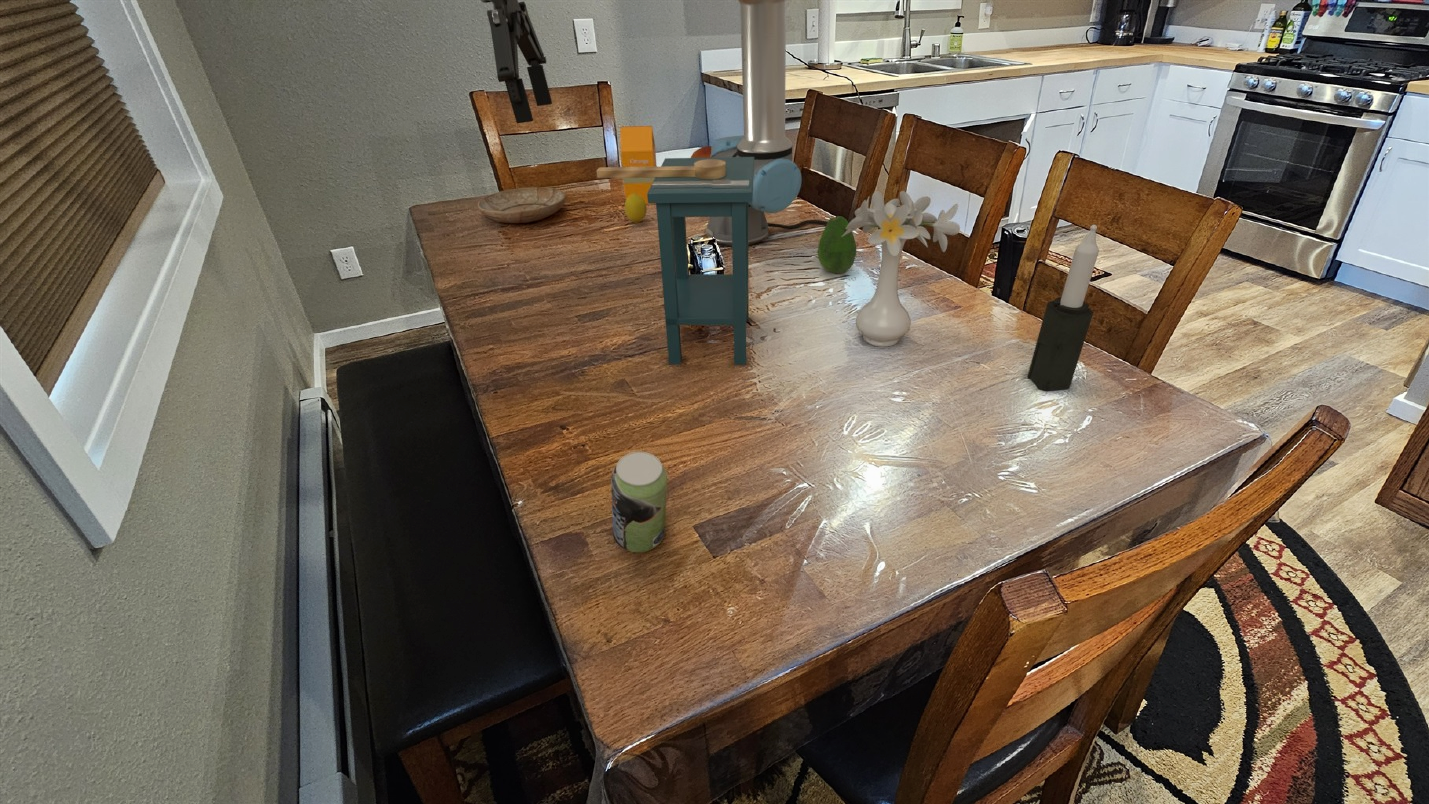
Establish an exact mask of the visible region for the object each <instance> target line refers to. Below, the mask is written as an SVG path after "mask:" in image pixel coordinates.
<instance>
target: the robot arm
mask: <svg viewBox="0 0 1429 804" xmlns="http://www.w3.org/2000/svg"><path fill="white" fill-rule="evenodd" d="M480 1H481V2H482V3H484V4H488V3H492V7H493V9H489V10H486V15H487V18H488V19H487V20H488V22H489V26H490V33H491V40H492V41H491V42H492V47H493V48H492V49H493V54H494V60H495V68H496V77H497V81H498V82H499V83H503V82H504V83H505V87H506V91H507V94H508V98H509V101H510V105H511V108H512V112H513V115H514V118H515V122H516V124H523V123H531V122H533V121H534V118H533V113H532V110H531V106H530V102H529V98H528V95H527V91H526V89H525V84H524V81H523V78H520V69H519V52H518V51H519V50H520V52H521V54H522V56H523V58H524V59H525V61H526V63H527V65H528V66H527V67H526V70H527V73H528V77H529V80H530V84H531V89H532V93H533V95H534V99H535V103H536V106H537V107H540V106H548V105H549V106H550V105H552V104H553V101H552V97H551V96H552V95H551V93H550V89H549V85H548V81H547V78H546V73H545V68H544V65H543V64H547V57H546V56H545V54H544V52H543V49H542V46H541V44H540V41H539V39H538V36H537V34H536V31H535V28H534V25H533V22H532V21H531V18H530V16H529V13H528V9H527V4H526V2H525V1H518V0H480ZM737 1H738V3H739V7H740V10H739V11H740V43H741V76H742V81H741V82H742V110H743V111H742V113H743V114H742V115H743V116H742V117H743V135H734V136H733V135H732V136H725V137H720V138H717V139H715V140H713V141H712V143H711V145H710V146H711V158H716V157H754V179H753V196H752V202H748V246H752V245H753V246H754V245H757V244H760V243H762V242H765V241H766V240H767V239H768V238H769V235H770V229H769V228H778V229H784V230H793V229H797V228H799V227H801V226H804V225H808V224H820V225H825V226H826V225H827V223H828V221H829V220H828V221H826V220H822V219H808V220H802V221H800V222H797V223H795V224H792V225H791V224H789V225H785V224H780V223H770V222H768V220H767V218H766V214H776V213H780V212H782V211H784V210H786V209H787V208H788V207H790V206H791V205H792V203H793V202H794V201H796V199H797V198H798V195H799V193H800V191H801V187H802V180H803V179H802V173H801V170H800V168H799V167H798V165H797V163H795V161H793V141H791V140H790V139H789V138H788V137H787V135H786V72H787V71H786V67H787V66H786V63H787V62H786V58H787V57H786V50H787V45H786V44H787V0H737ZM518 48H519V50H518ZM855 217H856V216H854V217H852V218H850V219H848V220H847V221H848V223H850V222H851V221H852V220H853V219H855ZM705 232H706V233H705V234H706V238H707V237H714V238H715V239H716V240H717V244H716V245H718V246H719V245H720V246H725V247H732V216H731V217H708V222H707V225H706V229H705Z"/></svg>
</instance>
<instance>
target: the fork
mask: <svg viewBox="0 0 1429 804" xmlns="http://www.w3.org/2000/svg"><path fill="white" fill-rule="evenodd" d="M653 188H712V189H724V188H749V180H713V181H666V182H654V183H653Z"/></svg>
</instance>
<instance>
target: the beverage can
mask: <svg viewBox="0 0 1429 804" xmlns="http://www.w3.org/2000/svg"><path fill="white" fill-rule="evenodd" d="M610 486H611V487H610V488H611V489H610V490H611V492H610V493H611V518H612V519H611V520H612V523H611V525H612V537H613V539H614V541H615V543H616V544H617V545H618V546H619V547H620V548H621V549H623V550H625V551H628V552H631V553H645V552H649V551H651V550H653V549H655V548H656V547H658V546H659V545H660V544H661V542H662V541H663V539H664V537H665V531H666V530H665V529H666V514H667V513H666V510H667V493H668V492H667V491H668V473H667V471H666V468H665V467H664V465H663V464H662V462H661V460H660V459H659V458H658V457H657V456H656V455H654V454H652V453H650V452H647V451H633V452H629V453H626V454H625V455H624V456H622V457H620V458H619V460H618V461H617V463H616V464H615V466H614V468H613V469H612V472H611V476H610Z"/></svg>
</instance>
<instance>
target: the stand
mask: <svg viewBox="0 0 1429 804" xmlns="http://www.w3.org/2000/svg"><path fill="white" fill-rule="evenodd" d="M706 159H717V160H722V161H725V162H726V175H725V176H724V177H722V178H718V179H699V178H696V177H655V179H654V181H653V183H654V182H666V181H713V180H749V188H724V189H712V188H653V183H652V185H651V187H650V189H649V191H648V193H647V198H648V203H656V204H655V208H656V220H657V232H658V246H659V257H660V269H661V270H660V271H661V282H662V293H663V294H662V295H663V308H664V318H665V320H664V321H665V331H666V344H667V354H668V355H667V356H668V365H669V366H670V365H675V366H676V365H677V366H678V365H681V364H682V361H683V355H682V354H683V352H682V337H681V326H733V365H734V366H747V322H749V318H750V317H749V315H750V314H749V309H750V307H749V305H750V302H749V299H750V298H749V296H750V295H749V293H750V291H749V285H750V284H749V283H750V280H749V278H750V277H749V273H750V272H749V245H748V202H752V196H753V179H754V157H716V158H691V157H669V158H668V157H665V158H664V160H663V162H662V163H661V166H660V167H666V166H694V163H695V162H697V161H700V160H706ZM731 216H732V246H731V249H732V253H731V254H732V255H731V256H732V261H731V262H732V273H729V274H728V273H727V274H726V273H725V274H723V273H721V274H716V273H715V274H713V273H712V274H711V273H709V274H707V273H706V274H703V273H702V274H695V273H694V274H689V259H688V256H689V255H688V241H687V223H686V222H687V221H686V218H710V217H731Z"/></svg>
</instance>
